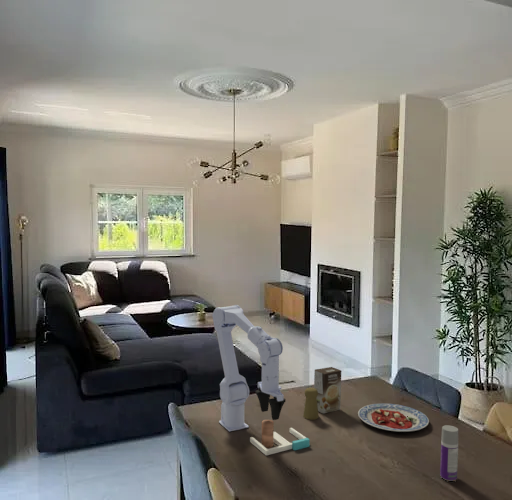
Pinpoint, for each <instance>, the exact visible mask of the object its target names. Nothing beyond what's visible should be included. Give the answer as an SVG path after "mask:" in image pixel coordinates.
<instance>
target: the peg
mask: <svg viewBox="0 0 512 500" xmlns="http://www.w3.org/2000/svg"><path fill="white" fill-rule="evenodd" d="M274 424H275V423H274V420H272V419H263V420H262V421H261V444H262V445H263V446H264V447H265V448H267V449H269V448H273V447H274V442H273V435H274V432H275V431H274V428H275V427H274Z"/></svg>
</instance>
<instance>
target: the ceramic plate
mask: <svg viewBox="0 0 512 500" xmlns="http://www.w3.org/2000/svg"><path fill="white" fill-rule="evenodd" d="M357 414H358V415H357V416H358V417H359V419H360V420H361V421H362V422H364V424H367V425H369V426H371V427H374V428H377V429H380V430H384V431H391V432H399V433H400V432H401V433H402V432H403V433H406V432H415V431H420V430H423V429H424V428H427V426H428V425H429V423H430V421H429V420H430V419H429V418H428V417H427V415H426V414H425V413H424V412H422V411H420V410H418V409H416V408H413V407H409V406H405V405H401V404H398V403H397V404H395V403H372V404H367V405H364V406H363V407H361V408H360V409H359V410H358V412H357ZM407 416H408V417H407Z"/></svg>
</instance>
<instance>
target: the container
mask: <svg viewBox="0 0 512 500" xmlns="http://www.w3.org/2000/svg"><path fill="white" fill-rule="evenodd" d="M440 439H441V443H440V444H441V445H440V465H439V466H440V467H439V472H440V473H439V477H440V476H441V477H440V479H441V478H443V479H445V480H449V481H453V480H456V479H457V480H458V464H459V462H458V460H459V428H458V427H456V426H453V425H449V424H448V425H447V424H445V425H443V426H441V437H440ZM443 479H442V480H443ZM445 480H444V481H445Z"/></svg>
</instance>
